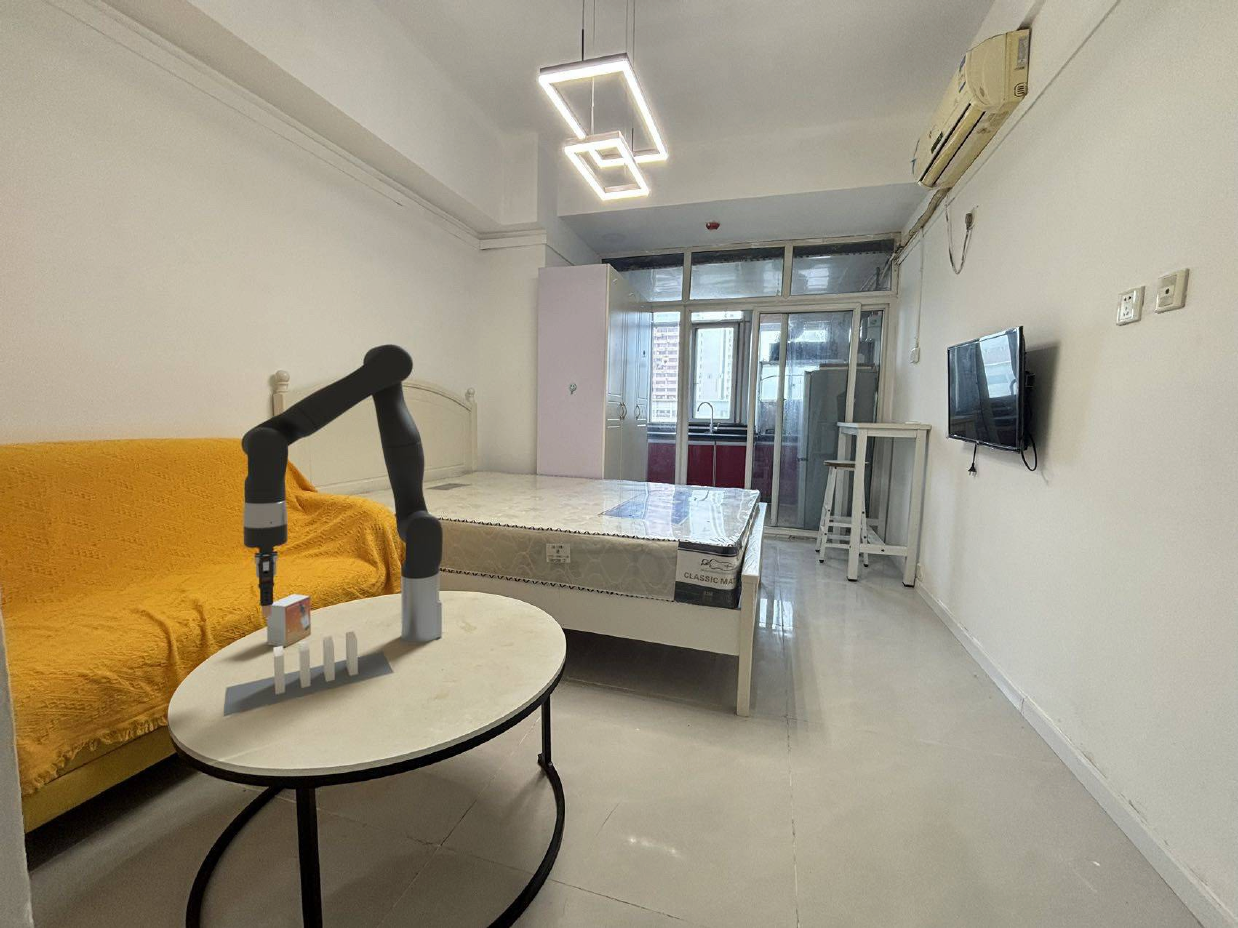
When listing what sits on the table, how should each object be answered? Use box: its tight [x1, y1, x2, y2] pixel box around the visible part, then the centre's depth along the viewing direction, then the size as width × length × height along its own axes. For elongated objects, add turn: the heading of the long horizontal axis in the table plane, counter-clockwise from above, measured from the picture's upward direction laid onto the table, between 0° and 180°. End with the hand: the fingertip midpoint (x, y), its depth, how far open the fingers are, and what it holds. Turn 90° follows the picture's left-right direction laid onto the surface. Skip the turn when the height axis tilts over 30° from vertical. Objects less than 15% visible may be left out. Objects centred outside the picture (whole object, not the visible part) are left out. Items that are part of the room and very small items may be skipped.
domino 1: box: [261, 578, 272, 617], centre depth 105 cm, size 2×5×8 cm, turn 35°
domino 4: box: [322, 635, 335, 682], centre depth 109 cm, size 2×5×8 cm, turn 36°
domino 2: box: [273, 646, 285, 694], centre depth 104 cm, size 2×5×8 cm, turn 36°
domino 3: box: [298, 640, 311, 688], centre depth 106 cm, size 2×5×8 cm, turn 36°
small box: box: [266, 593, 312, 648], centre depth 126 cm, size 8×6×10 cm
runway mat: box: [223, 650, 395, 717], centre depth 107 cm, size 30×12×1 cm, turn 126°
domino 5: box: [345, 630, 359, 676], centre depth 112 cm, size 2×5×8 cm, turn 36°
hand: (266, 600), depth 106 cm, fingers closed on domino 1, 5 cm apart
